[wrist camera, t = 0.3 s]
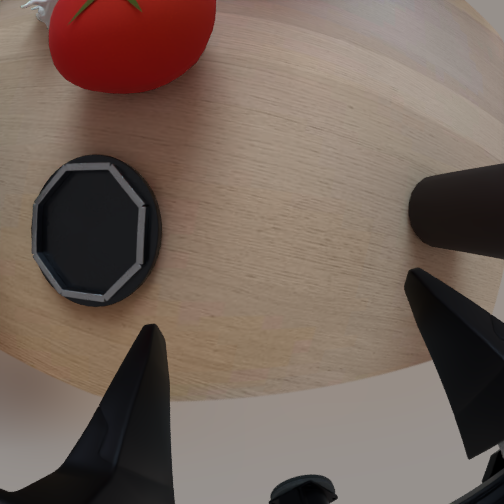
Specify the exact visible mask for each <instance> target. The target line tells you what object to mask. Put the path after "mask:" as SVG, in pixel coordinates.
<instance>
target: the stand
mask: <svg viewBox="0 0 504 504" xmlns="http://www.w3.org/2000/svg"><path fill="white" fill-rule="evenodd" d="M34 202H35V204H33V217H32V227H31V233H32V254H34V255H33V258H34V259H35V261H36V262H37V264H38V265H39V267H40V269H41V271H42V273H43V275H44V276H45V278H46V279H47V281H48V282H49V283H50V284H51V286H52V287H53V288H54V289H55V290H56V291H57V292H58V293H59V294H61V295H62V296H64V297H65V298H67V299H69V300H71V301H73V302H75V303H78V304H81V305H85V306H92V307H100V306H107V305H111V304H114V303H117V302H119V301H121V300H123V299H124V298H126V297H128V296H129V295H131V294H132V293H133V292H134V291H136V290H137V289H138V288H139V287H140V286H141V285H142V284H143V283H144V282H145V280H146V279H147V277H148V276H149V275H150V273H151V271H152V269H153V267H154V265H155V263H156V260H157V257H158V254H159V250H160V246H161V238H162V223H161V214H160V210H159V206H158V203H157V200H156V198H155V195H154V193H153V191H152V189H151V188H150V186H149V184H148V183H147V182H146V180H145V179H144V178H143V177H142V176H141V175H140V173H139V172H138V171H136V170H135V169H134V168H132V167H131V166H130V165H128V164H126V163H124V162H123V161H120V160H118V159H116V158H113V157H110V156H105V155H86V156H82V157H79V158H76V159H74V160H71V161H69V162H68V163H66V164H64V165H63V166H62V167H60V168H59V169H58V170H57V171H56V172H55V173H54V174H53V175H52V176H51V177H50V178H49V179H48V181H47V182H46V183H45V185H44V187H43V188H42V190H41V192H40V194H39V196H38V197H37V199H36V200H35V201H34Z"/></svg>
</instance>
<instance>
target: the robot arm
mask: <svg viewBox="0 0 504 504" xmlns="http://www.w3.org/2000/svg"><path fill="white" fill-rule="evenodd" d="M404 290H405V293H406V296H407V298H408V301H409V304H410V307H411V309H412V312H413V315H414V318H415V321H416V323H417V326H418V328H419V330H420V333H421V335H422V337H423V339H424V341H425V344H426V346H427V348H428V350H429V353H430V355H431V357H432V360H433V362H434V364H435V367H436V369H437V372H438V374H439V376H440V379H441V381H442V384H443V386H444V389H445V392H446V394H447V397H448V399H449V402H450V405H451V408H452V410H453V413H454V415H455V420H456V422H457V425H458V428H459V431H460V434H461V438H462V440H463V444H464V447H465V450H466V454H467V457H468V459H472V458H473V457H475V456H477V455H479V454H481V453H483V452H485V451H486V450H488V449H490V448H492V447H493V446H495V445H497V444H498V445H499V448H500V449H499V450H498V451H497V452H495V453H494V454H492V455H491V457H490V460H489V463H488V466H487V468H486V471H485V474H484V477H483V479H482V484H481V485H479V486H478V487H476V488H475V489H473V490H472V491H470V492H469V493H467V494H465V495H464V496H462V497H460V498H459V499H457V500H455V501H454V502H452V503H450V504H504V323H503V322H501V321H500V320H499V319H497V318H496V317H494V316H493V315H491V314H490V313H489V312H487V311H486V310H484V309H483V308H481V307H480V306H478V305H477V304H475V303H474V302H472V301H471V300H469V299H468V298H466V297H465V296H463V295H462V294H460V293H459V292H457V291H456V290H454V289H453V288H451V287H450V286H448V285H446V284H445V283H443V282H442V281H440V280H439V279H437V278H435V277H434V276H432V275H431V274H429V273H427V272H426V271H424V270H422V269H421V268H414V269H411V270H409V271H408V274H407V278H406V281H405V285H404ZM99 406H100V407H98V408H97V410H96V412H95V413H94V415H93V417H92V419H91V421H90V422H89V424H88V426H87V428H86V429H85V431H84V432H83V434H82V436H81V437H80V439H79V440H78V442H77V443H76V445H75V447H74V448H73V450H72V451H71V453H70V454H69V456H68V457H67V459H66V460H65V462H64V463H63V464H62V465H61V466H60V467H59V468H58V469H57V470H56V471H55V472H53V473H51V474H50V475H48V476H46V477H44V478H42V479H40V480H38V481H36V482H34V483H32V484H30V485H29V486H27V487H25V488H23V489H21V490H18V491H15V492H8V491H5V490H3V489H0V504H175V500H174V488H173V476H172V459H171V436H170V435H171V433H170V381H169V371H168V362H167V352H166V342H165V338H164V336H163V335H162V333H161V331H160V329H159V328H158V326H157V325H156V324H148V325H145V326H143V328H142V330H141V331H140V333H139V335H138V336H137V338H136V340H135V341H134V343H133V345H132V347H131V348H130V350H129V352H128V354H127V355H126V357H125V359H124V361H123V362H122V364H121V366H120V368H119V369H118V371H117V373H116V375H115V377H114V378H113V380H112V382H111V384H110V386H109V388H108V389H107V391H106V393H105V395H104V397H103V399H102V401H101V402H100V404H99ZM337 498H338V497H337V495H336V494H334V493H333V492H331V491H329V490H328V489H326V488H324V487H323V486H321V485H319V484H318V483H316V482H315V481H313V480H308V481H306V482H304V483H303V484H301V485H299V486H297V487H295V488H294V489H292V490H290V491H288V492H286V493H284V494H282V495H280V496H278V497H276V498H274V499H272V500H270V501H269V504H329V503H331V502H333V501H335V500H336V499H337Z"/></svg>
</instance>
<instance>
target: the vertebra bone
mask: <svg viewBox="0 0 504 504" xmlns="http://www.w3.org/2000/svg"><path fill="white" fill-rule="evenodd" d="M57 2H58V0H31V1H29V2H28V3H27V4H25V5H23V6H21V8H27V7H29V6H31V5H39V6H37V7H34V8H32V9H31V10H35V9H39V10H38V13H39V14H38V13H37V14H36V17H37V19H38V20H39V21H41V22H44V23H46V26H47V27H48V28H47V29H49V25H50V18H51V15H52V12H53V9H54V7H55V5H56V3H57Z"/></svg>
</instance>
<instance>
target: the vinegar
mask: <svg viewBox="0 0 504 504" xmlns="http://www.w3.org/2000/svg"><path fill="white" fill-rule="evenodd" d="M409 217H410V221H411V225H412V227H413V229H414V231H415V233H416V235H417V236H418V237H419V238H420V239H421V240H422V241H423V242H424V243H426V244H428V245H430V246H432V247H438V248H444V249H449V250H455V251H461V252H467V253H472V254H478V255H483V256H489V257H494V258H499V259H504V163H503V164H497V165H491V166H485V167H479V168H473V169H468V170H462V171H456V172H451V173H445V174H440V175H435V176H430V177H426V178H424V179H423V180H422V181H421V182H419V183H418V184H417V185H416V187H415V188H414V190H413V192H412V194H411V198H410V202H409Z"/></svg>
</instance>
